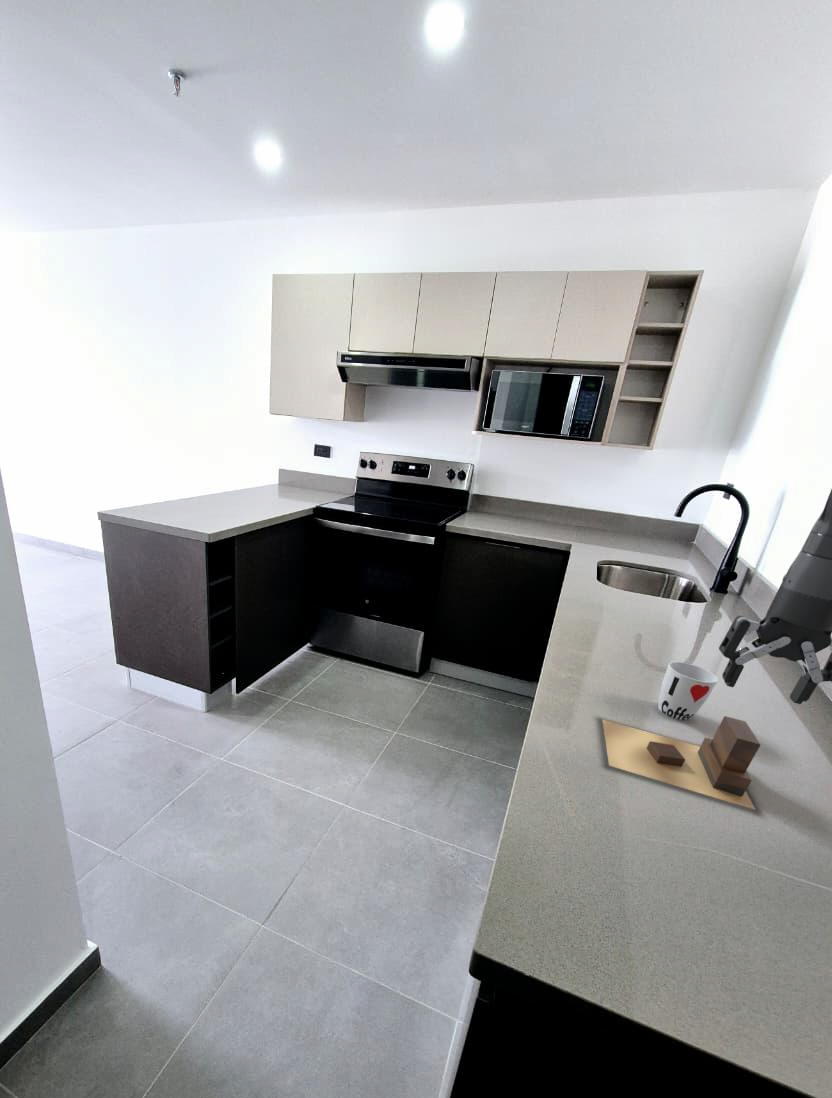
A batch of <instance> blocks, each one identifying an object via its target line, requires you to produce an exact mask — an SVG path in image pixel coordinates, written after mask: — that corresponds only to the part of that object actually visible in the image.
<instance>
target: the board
mask: <svg viewBox="0 0 832 1098" xmlns="http://www.w3.org/2000/svg"><path fill="white" fill-rule="evenodd" d="M602 727H603V733H604V740H605V748H606V754H607V761H608V766H609V767H612V768H615V769H617V770H623V771H626V772H628V773H631V774H632V773H633V774H635V775H639V776H642V777H646V778H649V779H652V780H655V781H659V782H661V783H664V784H669V785H671V786H675V787H678V788H681V789H685V790H689V791H692V792H695V793H698V794H701V795H704V796H708V797H711V798H714V799H718V800H722V801H723V802H727V803H731V804H734V805H736V806H742V807H744V808H748V809H751V810H755V811H756V808H755V806H754V804H753V802H752V800H751V798H750V797H749V794H748V792H747V790H746V791H745V793H744V795H743V796H739V795H736V794H732V793H729V792H725V791H722V790H719V789H715V788H713V787H712V785H711V782H710V780H709V778H708V775H707V773H706V771H705V769H704V766H703V764H702V762H701V759H700V757H699V755H698V751H699V749H700V746H701V745H700V746H699V745H696V744H692V743H689V742H685V741H681V740H678V739H674V738H670V737H668V736H663V735H660V734H657V733H653V732H649V731H645V730H642V729H638V728H635V727H632V726H627V725H624V724H621V723H618V722H613V721H610V720H606V719H602ZM650 741H652V742H658V743H664V744H670V745H674V746H675V747H676V749H677V750H678V751H679V752H680V754H681V755H682V756H683V757H684V759H685V761H684V763H683V765H682V767H680V766H674V765H667V764H661V763H657V762H656V761H655V759H654V758H653V757H652V755H651V754H650V752H649V751H648V750H647V746H648V744H649V742H650Z"/></svg>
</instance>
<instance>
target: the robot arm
mask: <svg viewBox="0 0 832 1098" xmlns="http://www.w3.org/2000/svg"><path fill="white" fill-rule="evenodd" d="M782 577H783V578H782V581H781V583H780V585H779V587H778V589H777V591H776V593H775V595H774V598H773V600H772V601H771V603H770V606H769V607H768V609H767V611H766V615H765V617H764V618H763V619H761V620H760V621H755V620H752V619H748V618H746V617H745V616H744V615H740V614H739V615H737V616H736V617H735V618H734V620H733V622H732V624H731V625H730V627H729V628H728V630H727V632H726V634H725V636H724V637H723V639H722V641H721V643H720V645H719V646H718V650H719V652H720V654H722V655H723V657H725V658H727V659H729V660H728V661H727V664H726V665H725V668H724V670H723V672H722V674H721V676H722V677H721V678H722V679H723V681H724V684H725V685H726V687H728V688H734V687H735V686H736V684H737V682H738V680H739V678H740V677H741V674H742V672H743V670H744V668H745V666H744V665H745V664H747V663H749V662H750V661H752V660H754V659H759V658H762V657H764V656H766V655H769V656H770V657H773V658H778V659H779V658H784V659H786V660H788V661H791V662H795V663H797V662H799V663H800V664H801V667H802V670H803V672H804V675H800V676H799V679H798V681H797V682H796V684H795V686H794V688H793V689H792V691H791V693H790V694H789V699H790V701H792V703H793V704H797V705H802V704H803V702H805V703H806V702H807V701H809V700H810V698H811V696H812V695H813V693H814V691H815V689H816V688H817V686H818V685H819V684H821V683H823V682H824V683H825V682H830V683H832V488H831V489H830V492H829V494H828V496H827V500H826V501H825V503H824V507H823V509H822V512H821V513H820V515H819V516H818V517H817V519H816V521H815V522H814V524H813V526H812V527H811V529H810V531H809V533H808V535H807V537H806V538H805V541H804V543H803V545H802V547H801V550H800V551H799V552H798V554H797V556H796V557H795V559H794V560H793V561H792V563H791V564H790V566H789V568H788V569H787V571H786V573H785V574H784V575H783V576H782ZM753 631H755V632H756V635H757V636H756V637H755V638H753V639H751V640H749V641H747V642H746V643H744V645H743V646H741V647H739V646H740V644H741V642H742V640H743V639H744V637H745V636H747V635H750V634H751V633H752V632H753ZM738 647H739V648H738ZM826 648H828V650H829V652H830V654H829V656H828V658H827V660H826V662H825V665H824V666H823V668H822V669H821V665H820V662H819V660H818V657H817V653H819V652H821V651H822V650H825V649H826Z"/></svg>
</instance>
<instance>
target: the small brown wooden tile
mask: <svg viewBox="0 0 832 1098" xmlns="http://www.w3.org/2000/svg"><path fill="white" fill-rule="evenodd" d="M647 750H648V751H649V752H650V754H651V755H652V757H653V758H654V759H655V761H656V762H657V763H661V764H667V765H674V766H680V767H682V765H683V763H684V761H685V759H684V757H683V756H682V755H681V754H680V752H679V751H678V750H677V749H676V747H675V746H674V745H670V744H664V743H658V742H652V741H650V742H649V744H648V746H647Z"/></svg>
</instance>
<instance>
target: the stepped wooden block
mask: <svg viewBox="0 0 832 1098" xmlns="http://www.w3.org/2000/svg"><path fill="white" fill-rule="evenodd" d="M761 745H762V744H761V742H760V741H759V739H758V738H757V737H756V735H755V733H754V732H753V730H752V729H751V728H750V726H749V723H747V721H745V720H741V719H738V718H734V717H730V716H726V715H724V716H723V718H722V720H721V722H720V723H719V725H718V728H717V729H716V732H715V734H714V736H713V737H712V738H710V737H704V738H703V740H702V743H701V745H700V749H699V751H698V755H699V757H700V759H701V762H702V764H703V766H704V769H705V771H706V773H707V775H708V778H709V780H710V782H711V785H712V787H713V788H715V789H719V790H722V791H725V792H729V793H732V794H736V795H739V796H743V795H744V793H745V791H746V792H747V789H748V788H749V786H750V785H751V783H752V781H753V780H752V777H751V776H750V774H749V772H748V771H747V770H748V769H749V767H750V765H751V764H752V761H753V760H754V759H755V756H756V754H757V752H758V751H759V749H760V747H761Z"/></svg>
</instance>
